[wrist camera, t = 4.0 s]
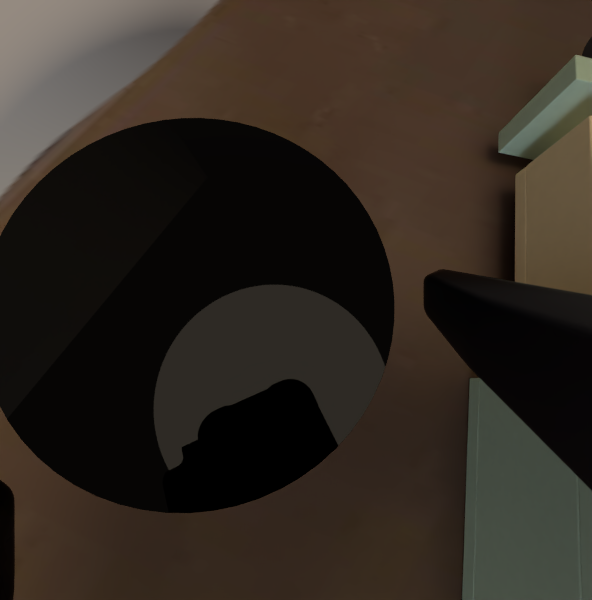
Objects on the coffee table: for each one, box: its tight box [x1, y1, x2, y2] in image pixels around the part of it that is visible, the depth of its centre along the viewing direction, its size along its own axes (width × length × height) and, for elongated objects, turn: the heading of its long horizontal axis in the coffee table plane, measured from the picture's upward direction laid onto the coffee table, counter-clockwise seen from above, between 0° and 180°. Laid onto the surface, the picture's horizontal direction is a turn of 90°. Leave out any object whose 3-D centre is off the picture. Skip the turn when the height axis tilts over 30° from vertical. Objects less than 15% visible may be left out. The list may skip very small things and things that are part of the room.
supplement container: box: [0, 118, 394, 513], centre depth 11 cm, size 7×7×10 cm
